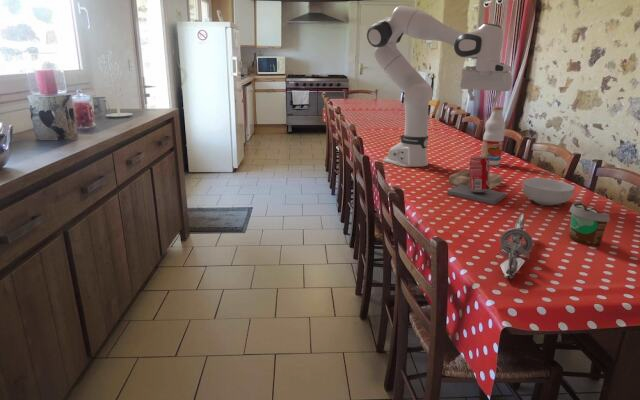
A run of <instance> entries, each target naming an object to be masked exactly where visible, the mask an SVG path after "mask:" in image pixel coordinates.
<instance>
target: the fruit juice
mask: <svg viewBox="0 0 640 400" xmlns="http://www.w3.org/2000/svg"><path fill="white" fill-rule="evenodd" d="M503 110H504V107H503V106H492V107H491V114H490V116H489V118H488V119H487V120H486V122H485V125H484V129H485V130H484V133H483V135H482V136H483V137H482V145H481V153H480V157H488V159H489V161H490V166H499V165H500V164H501V159H502V153H503V146H504V139H505V134H504V130H505V129H506V122H505V120H504V117H503Z"/></svg>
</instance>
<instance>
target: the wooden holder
mask: <svg viewBox="0 0 640 400" xmlns="http://www.w3.org/2000/svg"><path fill="white" fill-rule="evenodd" d="M448 177H449V179H448V184H449V185H453V186H455V187H456V186H458V185H460V184H462V185H467V186H470V168H469V169H468V168H464V169H462V170H460V171H457V172H455V173H453V174H450V175H449V176H448ZM502 178H503V175H502V174H497V173H491V172H490V189H489V190H492V189H494V188H496V187H497V186H499V185H501V183H502V180H503V179H502Z"/></svg>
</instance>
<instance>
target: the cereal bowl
mask: <svg viewBox="0 0 640 400" xmlns="http://www.w3.org/2000/svg"><path fill="white" fill-rule="evenodd" d="M522 191H523V193H524V194H525V195H524V196H526V197H527V198H529V199H530V200H532V201H533V202H534V203H536V204H538V205H543V206H557V205H560V204H563V203H567V202H568V201H569V200H571V198H572V197H573V195H574V192H575V186H574V185H572V184H570V183H568V182H564V181H561V180H556V179H552V178H543V177H531V178H526V179H523V182H522Z"/></svg>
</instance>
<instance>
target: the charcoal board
mask: <svg viewBox="0 0 640 400" xmlns="http://www.w3.org/2000/svg"><path fill="white" fill-rule="evenodd" d="M448 194H449V196H453V195H454V196H453V197H457V196H458V198H463V199H466V200H471V201H472V200H473V201H477V202H481V203H485V204H490V205H496V204H497V203H499V202H500V201H502V200H503V199H505V198H506V197H507V193H506V192H501V191H496V190H492V189H490V190H488V191H487V192H472V191H471V190H470V186H467V185H462V184H460V185H458V186H456V185H455V186H454V187H453V188H450V189H448V190H447V195H448Z"/></svg>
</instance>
